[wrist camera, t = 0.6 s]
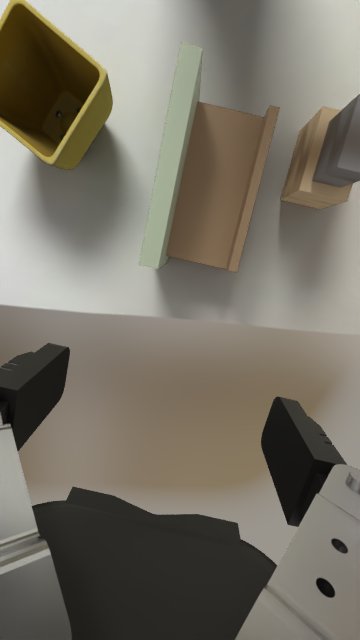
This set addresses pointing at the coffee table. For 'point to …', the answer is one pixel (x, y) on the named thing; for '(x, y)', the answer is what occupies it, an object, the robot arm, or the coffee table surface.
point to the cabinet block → (325, 158)
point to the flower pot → (49, 88)
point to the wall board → (204, 175)
